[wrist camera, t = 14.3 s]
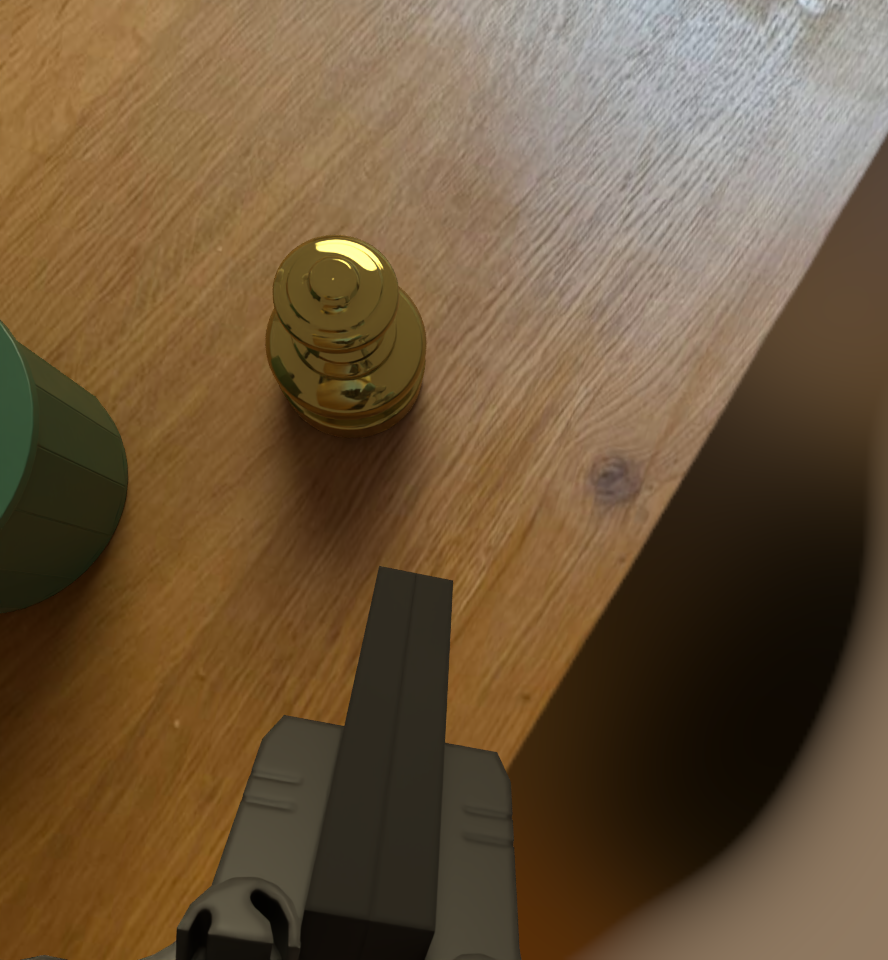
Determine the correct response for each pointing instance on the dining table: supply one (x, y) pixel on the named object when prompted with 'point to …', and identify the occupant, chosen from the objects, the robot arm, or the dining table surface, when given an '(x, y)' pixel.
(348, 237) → the brass calibration weight
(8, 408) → the pot lid
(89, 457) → the pot
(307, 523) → the dining table surface
